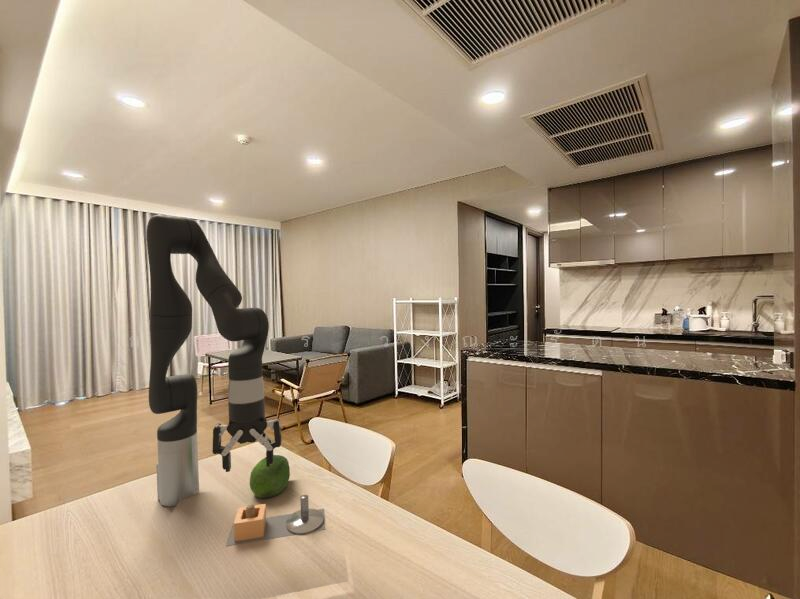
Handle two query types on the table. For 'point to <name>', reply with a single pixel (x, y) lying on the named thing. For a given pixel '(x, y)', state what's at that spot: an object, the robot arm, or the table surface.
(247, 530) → the collar
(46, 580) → the table surface
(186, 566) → the table surface
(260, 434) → the robot arm
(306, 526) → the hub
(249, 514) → the stand rod
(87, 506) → the table surface
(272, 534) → the board
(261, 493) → the fruit
